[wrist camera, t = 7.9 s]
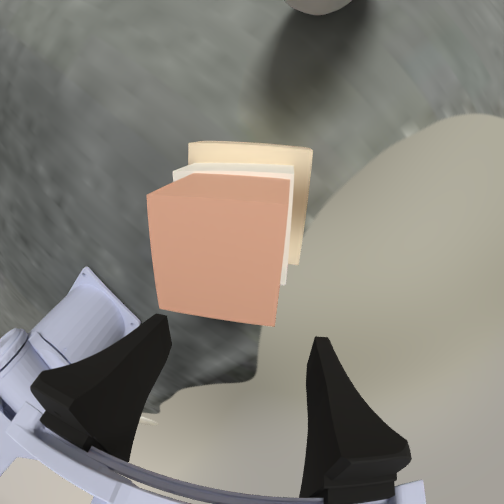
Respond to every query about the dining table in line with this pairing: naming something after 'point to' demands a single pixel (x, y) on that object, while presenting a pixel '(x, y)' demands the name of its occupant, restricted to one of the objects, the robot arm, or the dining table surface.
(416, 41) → the dining table surface
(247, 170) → the cream top block
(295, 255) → the birch base block
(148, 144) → the dining table surface
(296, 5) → the donut
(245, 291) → the terracotta cube
